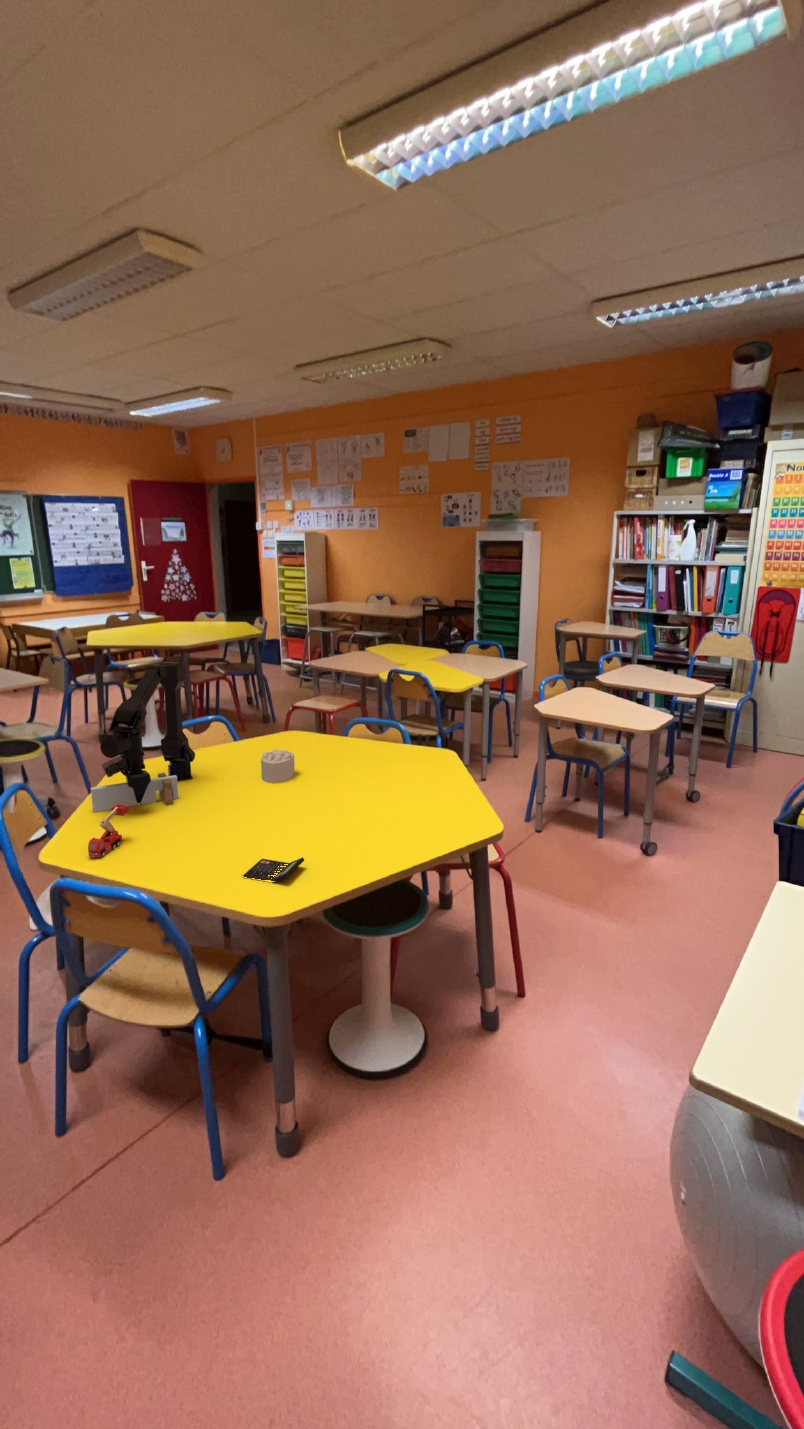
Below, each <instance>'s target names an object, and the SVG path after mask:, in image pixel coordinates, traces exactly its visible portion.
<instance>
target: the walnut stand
mask: <svg viewBox="0 0 804 1429" xmlns="http://www.w3.org/2000/svg"><path fill="white" fill-rule="evenodd" d="M166 776H168V775H167V774H166V773H165V772H160V773H157V778H160V777H166ZM158 792H159V793H158V794H159V796H160V798H161V800H162V799H163V800H162V801H163V803H164V804H165V806H170V804H171V805H173V804H174V799H173V797H172V782H171V781H170V779H168V780H163V790H158Z"/></svg>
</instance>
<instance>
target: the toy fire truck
mask: <svg viewBox="0 0 804 1429" xmlns="http://www.w3.org/2000/svg"><path fill="white" fill-rule="evenodd" d="M110 811H111V812H109V813H108V815H107V816H106V817H105V818H102V820H101V821H100V825H99V826H100V828H102V829H103V830H105V831H104V832H103V834H101V836H100V838H96V837H92V838H91V839H89V842H88V845H87V849H88V850H87V852H88V854H87V855H88V857H90V858H94V859H99V858H104V857H105V856H106V854H107V853H109V852H110V851H111V850H115V849H116V847H120V845H121V844H122V843H123V835H122V834H119V831H118V830H117V829H116V828H115V827H114V826H113V824H112V823H111V822H110V820H112V818H113V817H114V816H122V817H124V816H125V815H127V814H128V813H130V807H129V806H126V805H115V806H111V810H110Z"/></svg>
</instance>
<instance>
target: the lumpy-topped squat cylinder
mask: <svg viewBox="0 0 804 1429" xmlns="http://www.w3.org/2000/svg"><path fill="white" fill-rule="evenodd" d="M260 766H261V767H260V768H261V769H260V770H261V772H260V773H261V775H260V776H261V780H262V781H263V782H265V783H267V784H281V783H285V782H287V781H290V780H292V778H293V777H294V776H295V773H296V772H295V753H294V752H291V751H288V750H287V749H273V750H271V751H264V752H263V753H262V756H261V758H260Z"/></svg>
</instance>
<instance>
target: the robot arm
mask: <svg viewBox="0 0 804 1429" xmlns="http://www.w3.org/2000/svg"><path fill="white" fill-rule="evenodd" d="M186 673H187V668H186V666H185V665H184V664H183V663H182V662H179V661H177V662H176V661H165V660H164V661H161V662H160V663H159V664H154V663H153V664H148V665H146V668H145V673H144V674H143V676H142V677H141V680H140V681H139V683H138V684H137V686H136V688H135V689H134V691H133V692H132V694H131V696H130V697H129V698H127V699H125V700H124V701H122V702H121V704H119V706H117V708H116V709H115V712H114V714H113V717H112V720H111V723H110V727H109V729H108V731H109V733H107V734H105V739H103V740H102V741H101V742H100V747H99V748H100V752H101V753H102V755H103V756H105V757H106V758H109V759H110V760H107V761H105V762H103V763H102V764H101V767H102V769H103V771H104V773H105V774H106V777H107V778H111V777H113V776H114V775H116V774H118V773H121V774H122V775H123V776H124V777H125V781H126V782H127V785H128V786H129V787H131V788H133V791H134V795H135V798H136V801H137V803H141V801H142V799H143V796H144V794H145V791H146V789H147V787H148V785H149V784H150V782H151V779H152V778H151V775H150V773H149V772H148V771H147V770H145V769H146V764H145V763H144V756H145V751H144V749H143V748H144V747H143V734H142V732H144V731H145V730H146V727H145V726H143V723H144V721H145V718H146V716H147V705H148V703H149V702H150V700H151V698H152V696H153V695H154V693H155V691H156V690H157V687H158V686H159V684H160V685H161V687H162V688H163V690H164V702H165V703H164V705H165V706H164V708H165V722H166V734H165V735H164V737H163V738H161V740H160V746H161V747H160V748H161V749H160V751H161V754H162V757H163V760H164V761H165V762H169V764H168V765H167V771H168V772H167V773H168V775H167V776H173V775H176V776H177V782H179V781H186V780H192V779H193V778H194V777H193V776H192V767H191V766H192V765H191V763H193V762H194V760H195V758H196V752H195V751H194V750H193V749H192V748H191V747H190V742H189V738H188V737H187V735H186V734H185V733H184V731H183V729H184V728H183V713H182V712H183V711H182V692H181V691H182V690H181V688H182V687H183V685H184V683H185V681H186V675H187V674H186ZM126 782H125V783H126Z"/></svg>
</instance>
